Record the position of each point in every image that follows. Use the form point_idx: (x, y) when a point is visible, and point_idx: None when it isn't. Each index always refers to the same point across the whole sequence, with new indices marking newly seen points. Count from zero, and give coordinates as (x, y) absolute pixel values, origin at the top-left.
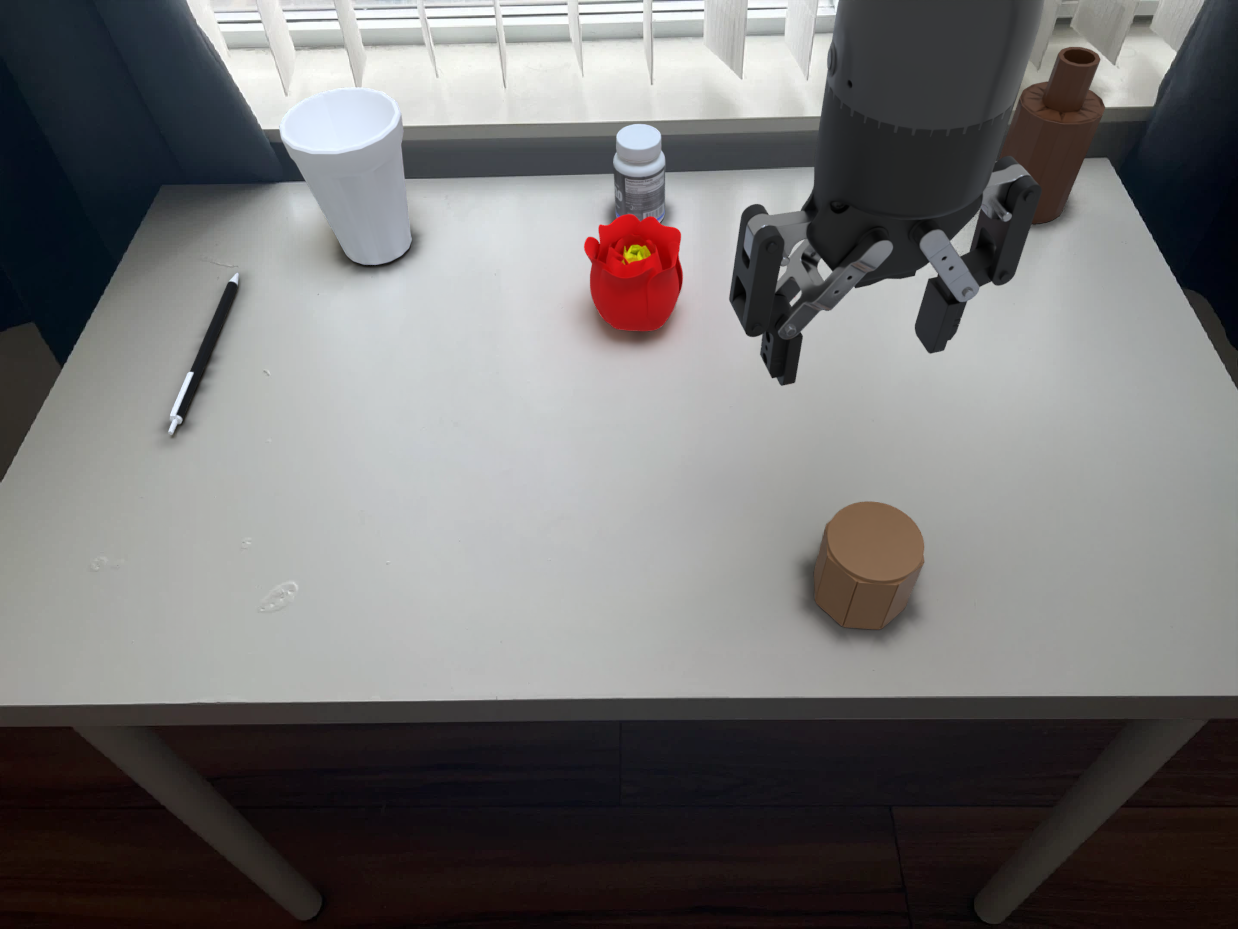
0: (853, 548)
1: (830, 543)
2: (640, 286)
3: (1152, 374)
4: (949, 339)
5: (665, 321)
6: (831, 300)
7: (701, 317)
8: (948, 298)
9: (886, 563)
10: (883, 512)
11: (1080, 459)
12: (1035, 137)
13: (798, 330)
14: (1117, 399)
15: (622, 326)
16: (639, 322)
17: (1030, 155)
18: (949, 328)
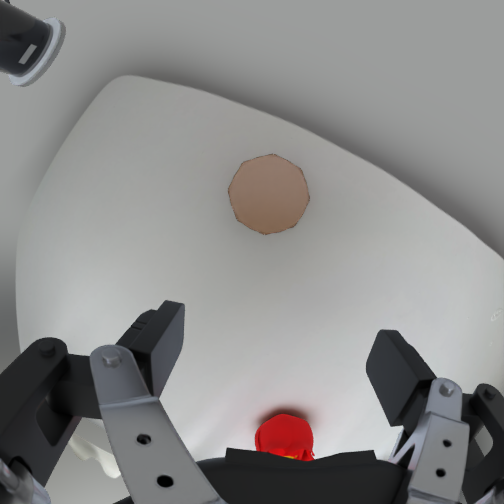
0: (290, 194)
1: (304, 206)
2: (294, 442)
3: (36, 260)
4: (152, 310)
5: (277, 417)
6: (444, 427)
7: (247, 411)
8: (143, 365)
9: (273, 171)
10: (247, 215)
11: (87, 224)
12: (38, 407)
13: (434, 387)
14: (54, 253)
15: (303, 420)
16: (295, 421)
17: (43, 400)
18: (154, 320)
